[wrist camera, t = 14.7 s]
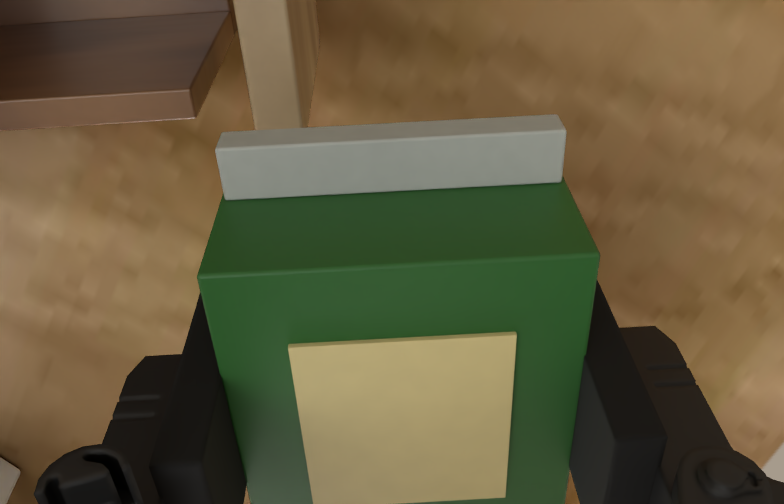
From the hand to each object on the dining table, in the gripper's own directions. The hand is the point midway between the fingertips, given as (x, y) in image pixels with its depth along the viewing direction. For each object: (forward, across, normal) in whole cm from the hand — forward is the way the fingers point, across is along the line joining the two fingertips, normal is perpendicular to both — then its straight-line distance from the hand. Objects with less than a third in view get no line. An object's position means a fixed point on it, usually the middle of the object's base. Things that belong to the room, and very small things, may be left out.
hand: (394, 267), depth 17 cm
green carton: (0, 0, 0) cm, 0 cm away
